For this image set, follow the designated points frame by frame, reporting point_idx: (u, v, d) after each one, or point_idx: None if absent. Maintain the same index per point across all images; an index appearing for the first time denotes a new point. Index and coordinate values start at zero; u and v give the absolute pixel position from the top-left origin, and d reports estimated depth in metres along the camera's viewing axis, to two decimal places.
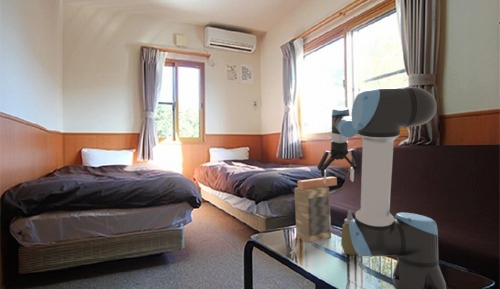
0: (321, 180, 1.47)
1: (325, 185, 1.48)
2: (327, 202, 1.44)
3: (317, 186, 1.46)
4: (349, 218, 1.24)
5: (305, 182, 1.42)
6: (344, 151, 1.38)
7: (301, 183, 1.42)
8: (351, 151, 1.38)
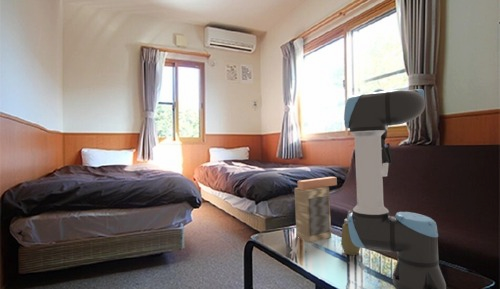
0: (321, 180, 1.47)
1: (325, 185, 1.48)
2: (327, 202, 1.44)
3: (317, 186, 1.46)
4: None
5: (305, 182, 1.42)
6: (382, 141, 1.38)
7: (301, 183, 1.42)
8: (387, 144, 1.39)
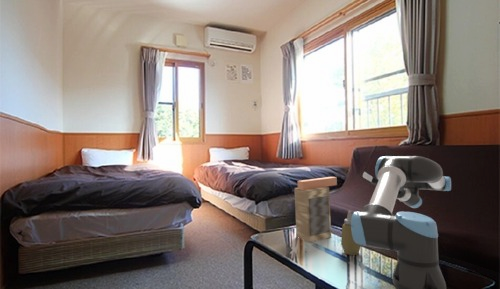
0: (321, 180, 1.47)
1: (325, 185, 1.48)
2: (327, 202, 1.44)
3: (317, 186, 1.46)
4: (349, 218, 1.24)
5: (305, 182, 1.42)
6: None
7: (301, 183, 1.42)
8: None
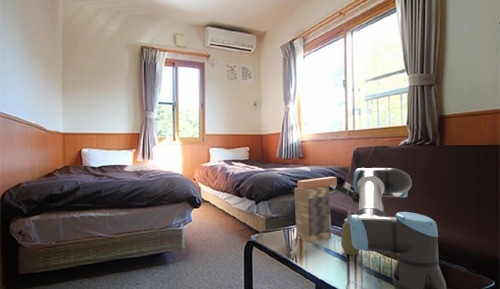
0: (321, 180, 1.47)
1: (325, 185, 1.48)
2: (327, 202, 1.44)
3: (317, 186, 1.46)
4: (349, 218, 1.24)
5: (305, 182, 1.42)
6: None
7: (301, 183, 1.42)
8: None
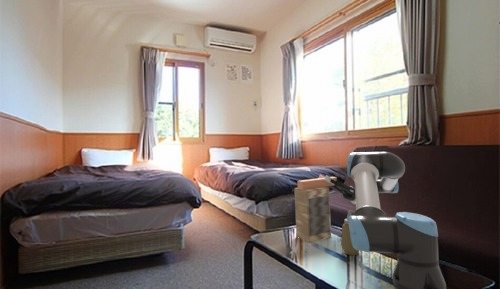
0: (321, 180, 1.47)
1: (325, 185, 1.48)
2: (327, 202, 1.44)
3: (317, 186, 1.46)
4: None
5: (305, 182, 1.42)
6: None
7: (301, 183, 1.42)
8: None
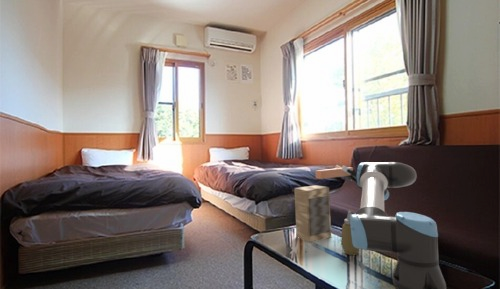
0: (338, 170, 1.50)
1: (342, 175, 1.51)
2: (327, 202, 1.44)
3: (334, 175, 1.49)
4: (349, 218, 1.24)
5: (323, 171, 1.46)
6: None
7: (319, 172, 1.45)
8: None
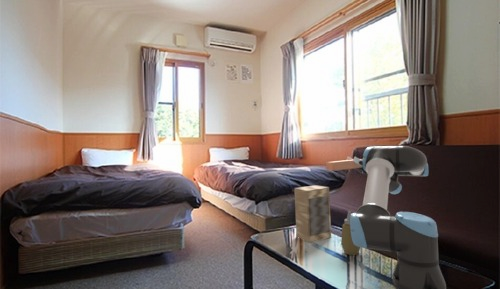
0: (350, 161, 1.45)
1: (354, 167, 1.46)
2: (327, 202, 1.44)
3: (346, 167, 1.44)
4: (349, 218, 1.24)
5: (334, 163, 1.40)
6: None
7: (330, 164, 1.40)
8: None
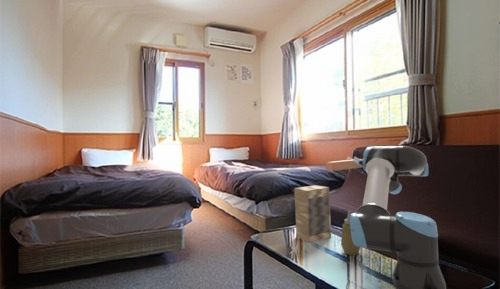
0: (350, 161, 1.45)
1: (354, 167, 1.46)
2: (327, 202, 1.44)
3: (346, 167, 1.44)
4: (349, 218, 1.24)
5: (334, 163, 1.40)
6: None
7: (330, 164, 1.40)
8: None
